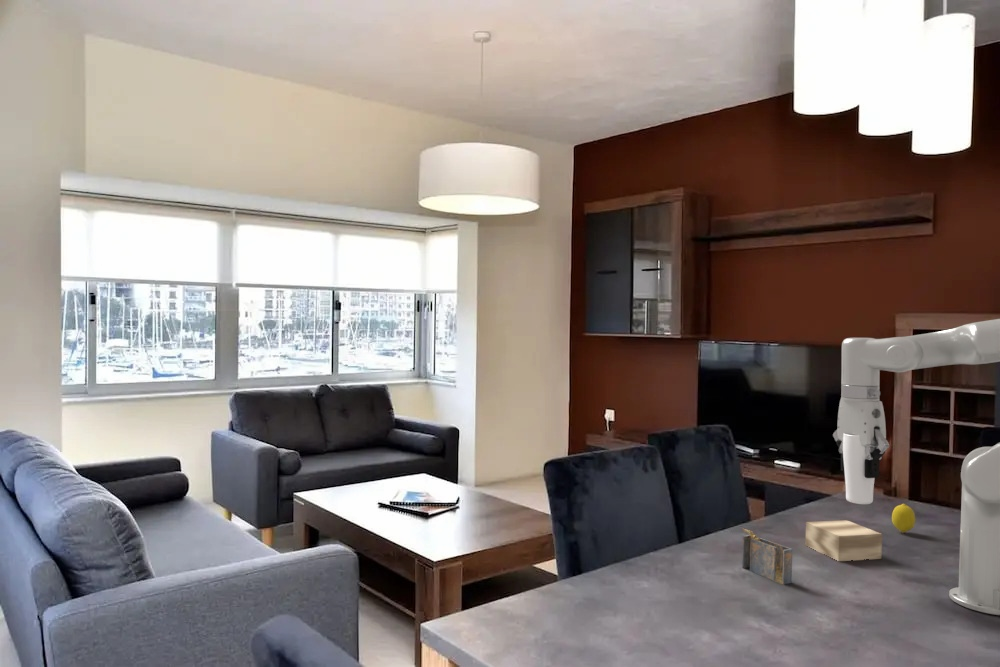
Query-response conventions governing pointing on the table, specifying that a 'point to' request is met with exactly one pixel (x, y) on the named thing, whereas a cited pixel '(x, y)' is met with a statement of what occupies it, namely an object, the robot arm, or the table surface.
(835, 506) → the table surface
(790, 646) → the table surface
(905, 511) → the lemon
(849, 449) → the drinking glass
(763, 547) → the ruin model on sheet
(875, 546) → the wooden block
